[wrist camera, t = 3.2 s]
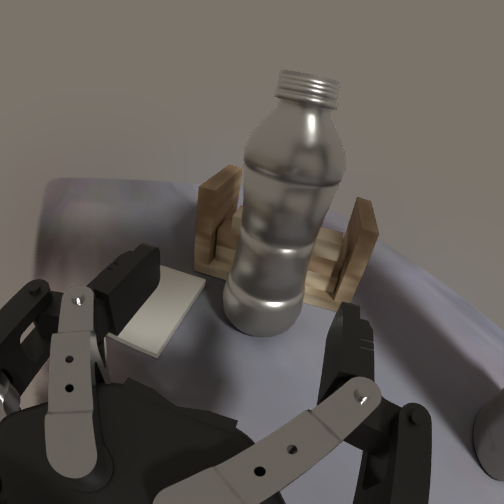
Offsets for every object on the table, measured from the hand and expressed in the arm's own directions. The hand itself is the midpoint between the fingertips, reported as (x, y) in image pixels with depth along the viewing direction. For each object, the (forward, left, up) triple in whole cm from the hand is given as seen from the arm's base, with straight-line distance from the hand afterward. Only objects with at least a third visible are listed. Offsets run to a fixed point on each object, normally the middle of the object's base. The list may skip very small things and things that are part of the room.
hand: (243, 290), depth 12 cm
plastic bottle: (0, -10, -11) cm, 15 cm away
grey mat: (+10, -7, -11) cm, 17 cm away
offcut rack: (0, -18, -11) cm, 21 cm away
